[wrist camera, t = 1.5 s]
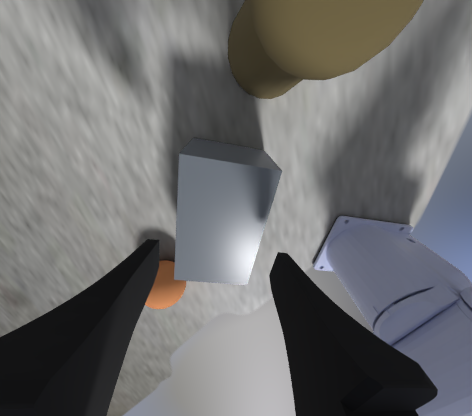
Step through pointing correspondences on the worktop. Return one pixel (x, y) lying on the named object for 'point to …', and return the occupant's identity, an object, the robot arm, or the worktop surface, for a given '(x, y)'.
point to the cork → (309, 39)
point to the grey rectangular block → (221, 210)
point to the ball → (165, 287)
